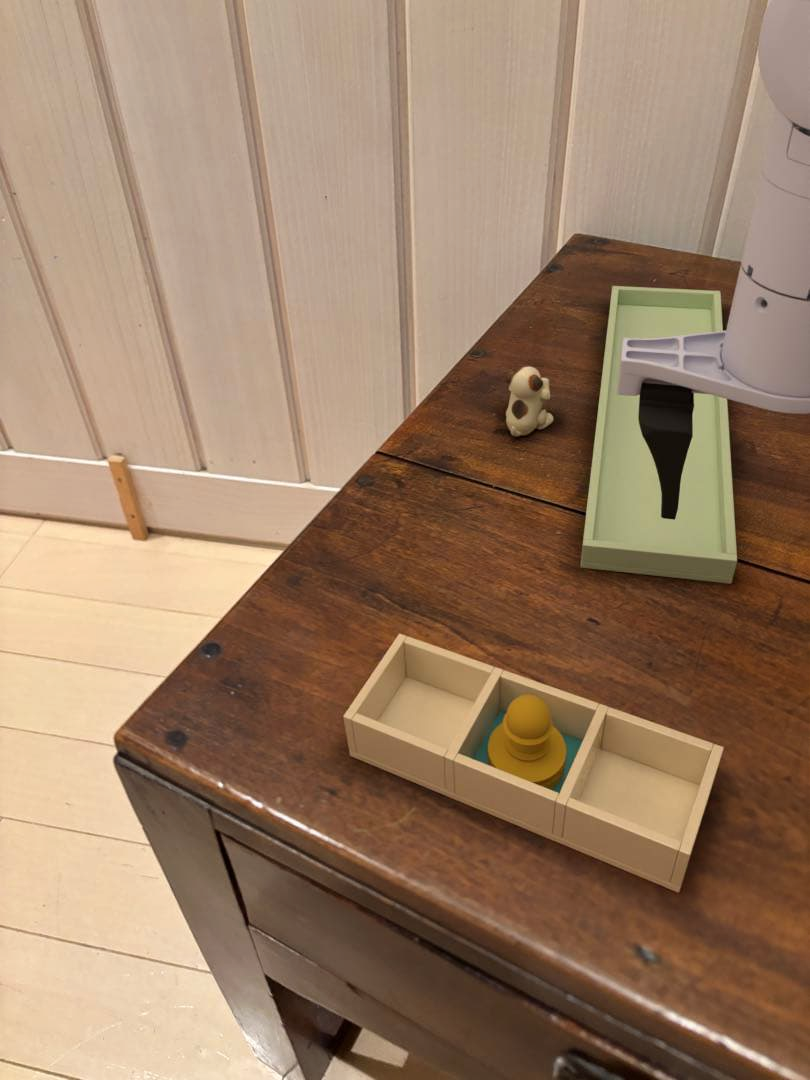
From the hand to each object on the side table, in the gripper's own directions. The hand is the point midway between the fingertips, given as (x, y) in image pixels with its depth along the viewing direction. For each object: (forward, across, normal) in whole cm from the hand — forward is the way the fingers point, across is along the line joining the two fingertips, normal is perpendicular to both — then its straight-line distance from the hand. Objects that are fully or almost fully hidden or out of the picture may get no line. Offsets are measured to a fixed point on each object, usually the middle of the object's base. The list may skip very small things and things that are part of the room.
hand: (745, 514), depth 47 cm
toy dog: (+10, +14, -19) cm, 26 cm away
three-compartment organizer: (+9, +10, +11) cm, 17 cm away
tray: (+10, +3, -22) cm, 24 cm away
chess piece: (+9, +10, +11) cm, 17 cm away
